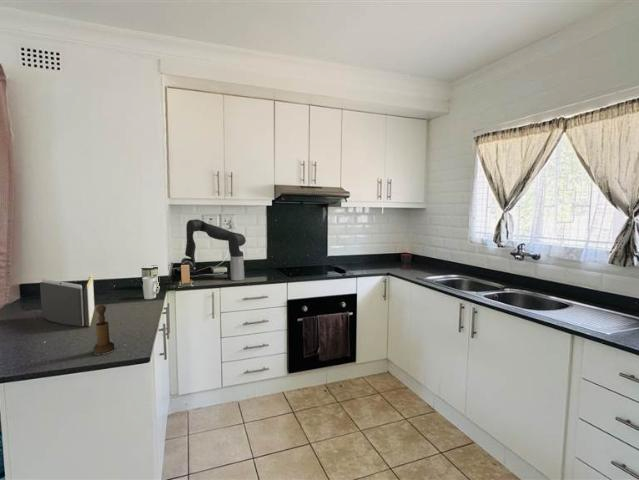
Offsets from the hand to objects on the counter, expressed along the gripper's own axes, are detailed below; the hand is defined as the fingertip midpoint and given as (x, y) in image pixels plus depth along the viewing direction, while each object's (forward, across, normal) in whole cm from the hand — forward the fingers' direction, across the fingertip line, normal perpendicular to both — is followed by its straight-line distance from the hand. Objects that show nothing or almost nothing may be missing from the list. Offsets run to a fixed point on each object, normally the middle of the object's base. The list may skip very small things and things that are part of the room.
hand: (185, 270), depth 237 cm
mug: (+36, -17, +8) cm, 40 cm away
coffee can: (+10, -21, +8) cm, 25 cm away
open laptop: (+61, -44, +8) cm, 76 cm away
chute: (+8, 0, +8) cm, 12 cm away
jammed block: (+5, 0, +8) cm, 10 cm away
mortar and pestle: (+108, -24, +8) cm, 111 cm away
